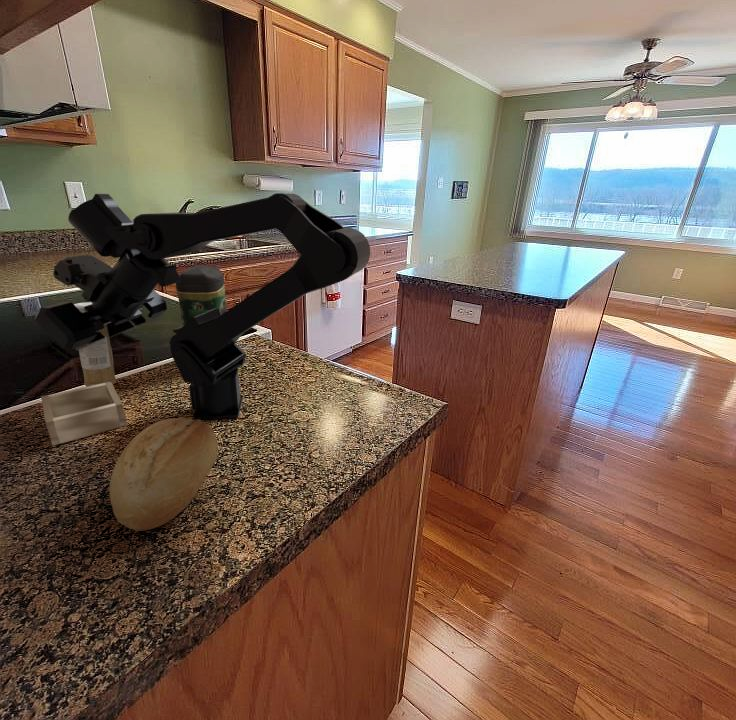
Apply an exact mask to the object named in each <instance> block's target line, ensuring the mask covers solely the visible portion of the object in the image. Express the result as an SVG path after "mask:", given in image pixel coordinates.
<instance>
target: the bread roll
mask: <svg viewBox="0 0 736 720" xmlns="http://www.w3.org/2000/svg"><path fill="white" fill-rule="evenodd" d="M218 454H219V443H218V439H217V436H216V434H215V432H214V430H213V428H212V427H210V425H209V424H207V423H206V422H205V421H202V419H192V418H190V417H189V418H187V417H179V418H175V417H174V418H166V419H161V420H158V421H156V422H154V423H152V424H151V425H149V426H147V427H146V428H144V429H143V430H142V431H140V432H139V433H137V434H136V435H135V436H134V437H133V438H132V439H131V440H130V441H129V442H128V444H127V445H126V446H125V448H124V449H123V450H122V452H121V454H120V455H119V457H118V460H117V461H116V463H115V465H114V467H113V470H112V473H111V478H110V482H109V500H110V504H111V507H112V510H113V515H114V517H115V519H116V520H117V522H118V523H120V524H121V525H122V526H125V528H127V529H131V530H134V531H135V532H139V531H141V532H143V531H149V530H152V529H155V528H158V527H160V526H163V525H164V524H167V523H168V522H170V521H172V520H174V518H175V517H176V516H178V515H179V514H180V513H181V512H183V510H185V509H186V507H187V506H189V504H190V503H191V502H192V500H193V499H194V498H195V497H196V495H197V493H198V491H199V489H200V487H201V486H202V485H203V483H204V481H205V480H206V479H207V476H208V475H209V473H210V471H211V469H212V468H213V466H214V464H215V462H216V460H217V458H218Z"/></svg>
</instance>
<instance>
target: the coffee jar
mask: <svg viewBox="0 0 736 720" xmlns="http://www.w3.org/2000/svg"><path fill="white" fill-rule="evenodd" d="M178 274H179V277H180V282H179V283H176V284H175V289H176V294H177V295H176V296H177V299H178V305H179V308H180V317H181V326H183V325H185V324H186V323H187V321H189V320H190V319H191V318H192V317H194V316H197V315H199V314H202V313H204V312H206V311H209V310H211V309H214V308H216V307H218V309H219V311H220V313H221V315H222V314H223V313H225V312H226V311H228V310H227V301H226V300H227V299H226V288H225V279H224V277H225V276H224V274H223V271H222V270H220V269H219V268H217V267H216V266H215V265H195V264H194V265H192V267H191V268H188V269H186V270H184V271H182V272H180V273H178ZM214 360H215V359H214ZM209 363H210V362H209Z"/></svg>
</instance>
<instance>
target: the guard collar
mask: <svg viewBox="0 0 736 720" xmlns="http://www.w3.org/2000/svg"><path fill="white" fill-rule="evenodd" d="M40 399H41V405H42V411H43V417H44V422H45V425H46V429H47V432H48V435H49V439H50V441H51V444H52V445H51V446H57V445H59V444H65V443H67V442H71V441H75V440H79V439H82V438H86V437H90V436H93V435H96V434H100V433H103V432H108V431H111V430H115V429H117V428H123V427H125V426H126V427H127V425H128V422H127V419H126V413H125V409H124V405H123V402H122V401H121V399H120V396H119V395H118V393H117V391H116V389H115V387H114V384H112V383H111V382H107V383H102V384H97V385H93V386H88V387H87V386H84V387H80V388H79V387H78V388H74V389H71V390H65V391H60V392H57V393H52V394H47V395H42V396H40Z"/></svg>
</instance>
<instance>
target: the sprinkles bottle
mask: <svg viewBox="0 0 736 720" xmlns="http://www.w3.org/2000/svg"><path fill="white" fill-rule="evenodd" d="M73 304H74V305H75V306H76V307H77V308H78V309H79V310H80V311H81V312H82V313H84V312H86V311H85V310H84V307H85V306H87V305H91V304H92V302H91V301H89V302H87V301H86V302H79V303H73ZM100 333H101V334H102V335H103V336H104V337H105V338H104V339H102V340H99V341H97V342H95V343H93V344H90V345H88V346H86V347H84V348H81V349H79V350H78V354H79V358H80V359H79V360H80V365H81V368H82V373H83V379H84V383H83V385H84V387H88V386H93V385H97V384H102V383H107V382H111V383H112V385H114V384H116V382H117V377H116V374H115V369H114V368H115V367H114V357H113V351H112V350H113V349H112V346H111V341H110V338H109V333H108V327H107V324H105V325H104V329H103V330H101V331H100Z"/></svg>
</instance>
